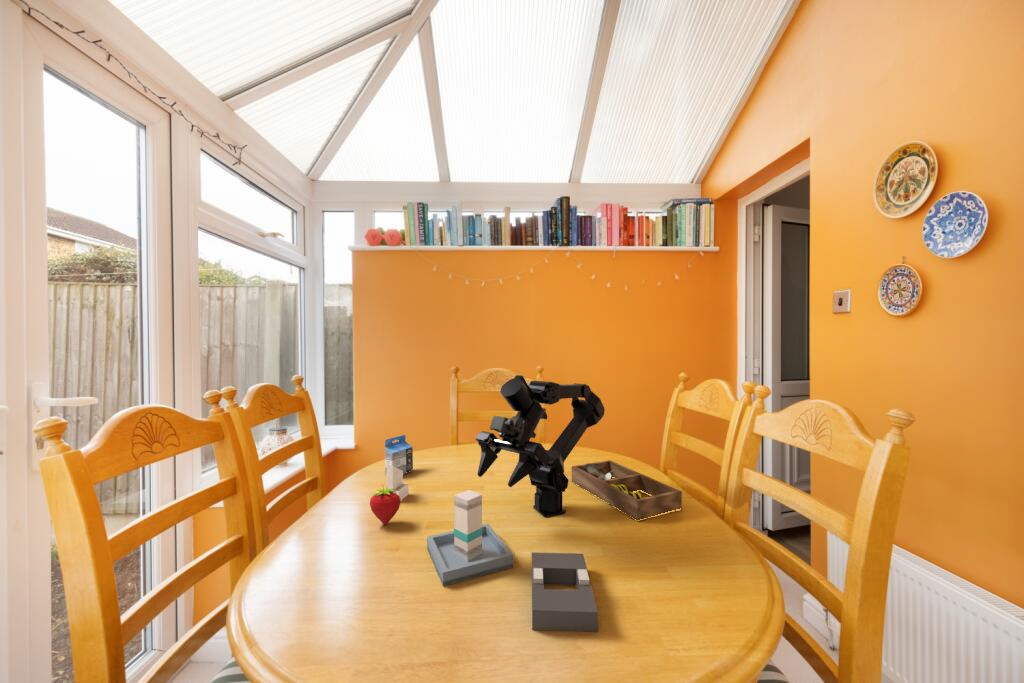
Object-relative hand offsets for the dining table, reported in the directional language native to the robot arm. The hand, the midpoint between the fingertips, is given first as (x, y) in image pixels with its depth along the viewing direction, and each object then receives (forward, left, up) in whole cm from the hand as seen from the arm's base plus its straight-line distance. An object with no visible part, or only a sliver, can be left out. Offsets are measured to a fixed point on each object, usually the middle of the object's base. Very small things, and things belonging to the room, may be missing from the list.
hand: (493, 480), depth 83 cm
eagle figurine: (-41, -17, -14) cm, 47 cm away
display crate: (-43, -9, -14) cm, 46 cm away
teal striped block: (+7, +3, -13) cm, 15 cm away
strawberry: (+21, -19, -14) cm, 31 cm away
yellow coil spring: (-39, -3, -14) cm, 42 cm away
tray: (+7, +3, -14) cm, 16 cm away
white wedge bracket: (+16, -34, -14) cm, 40 cm away
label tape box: (+13, -54, -14) cm, 57 cm away
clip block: (-4, +21, -14) cm, 26 cm away
